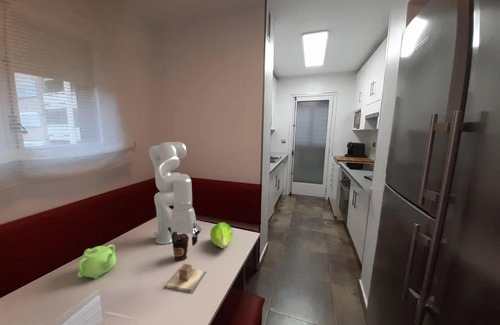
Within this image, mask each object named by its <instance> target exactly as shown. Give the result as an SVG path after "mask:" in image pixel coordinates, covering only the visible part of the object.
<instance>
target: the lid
mask: <svg viewBox="0 0 500 325" xmlns="http://www.w3.org/2000/svg"><path fill="white" fill-rule="evenodd" d="M192 266H193V265H192V264H186V263H183V264H182V265H181V266H180V268H179V269H178V270H177V271H176V272H175V273H174V274H173V276H172V277H171V278H170V279H169V281H168V282H166V284H165V285H166V287H168V288H173V289H178V290H183V291H189V292H192V290H193V289H194V287H195V286H196V284H197V283H198V281H199V279H200V278H201V276H202V275H203V273H204V271H205V270H203V269H202V270H201V269H198V268H197V269H196V268H193V267H192Z"/></svg>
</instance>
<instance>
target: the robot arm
mask: <svg viewBox="0 0 500 325" xmlns="http://www.w3.org/2000/svg"><path fill="white" fill-rule="evenodd" d="M148 150H149V151H148V153H149V158H150V160H151V162H152V164H153V168H154V177H155V185H156V188H157V190H158V192H157V193H155V195H154V197H153V198H154V199H153V200H154V205H155V210H156V221H157V222H156V226H157V231H156V230H155V231H154V232H153V236H154V237H156V238H155V243H156V244H157V245H168V244H171V243H174V242H176V241H177V239H178V238H177V235H178V233H179V234H187V235H188V234H191V236H192V237H191V244H192V245H191V246H192V247H193V246H195V245H196V244H197V243H198V235H199V234H200V233H201V232H202V230H203V228H204V226H203V225H201V224H200V223H198V222H197V219H196V213H195V209H194V207H193V190H192V189H193V188H192V178H190V176H189V175H188V174H187V173H181V172H178V171H177V172H172V171H174V170H175V169H177V168H178V167H179V166H180V162H181V160H180V159H183V158H184V157H186V155H187V146H186V144H184V142H181V141H166V142H162V143H160V144H158V145H153V146H151V147H150V148H149V149H148ZM171 206H173V208H170V207H171Z"/></svg>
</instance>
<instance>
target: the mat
mask: <svg viewBox="0 0 500 325" xmlns="http://www.w3.org/2000/svg"><path fill="white" fill-rule="evenodd" d="M203 271H204V273H203V275H202V276H201V278H200V279H199V281H198V283H197V284H196V286H195V287H194V289H193V290H192V292H189V291H183V290H178V289H173V288H168V287H166V284H165V285H164V286H163V287H162V289H163V290H168V291H172V292H178V293H181V294H182V293H184V294H188V295H193V294H194V293H195V291H196V289H197V288H198V287H199V284H200V283H201V281H202V280H203V278H205V275H206V274H207V271H205V270H203Z"/></svg>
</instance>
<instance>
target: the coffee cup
mask: <svg viewBox="0 0 500 325" xmlns="http://www.w3.org/2000/svg"><path fill="white" fill-rule="evenodd" d="M177 238H178V239H177V241H176V242H174V243H172V250H173V255H174V261H176V262H183V261H185V260H187V259H188V256H187V253H188V250H189V238H190V237H189V236H188V234H187V233H179V234H178V233H177Z"/></svg>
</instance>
